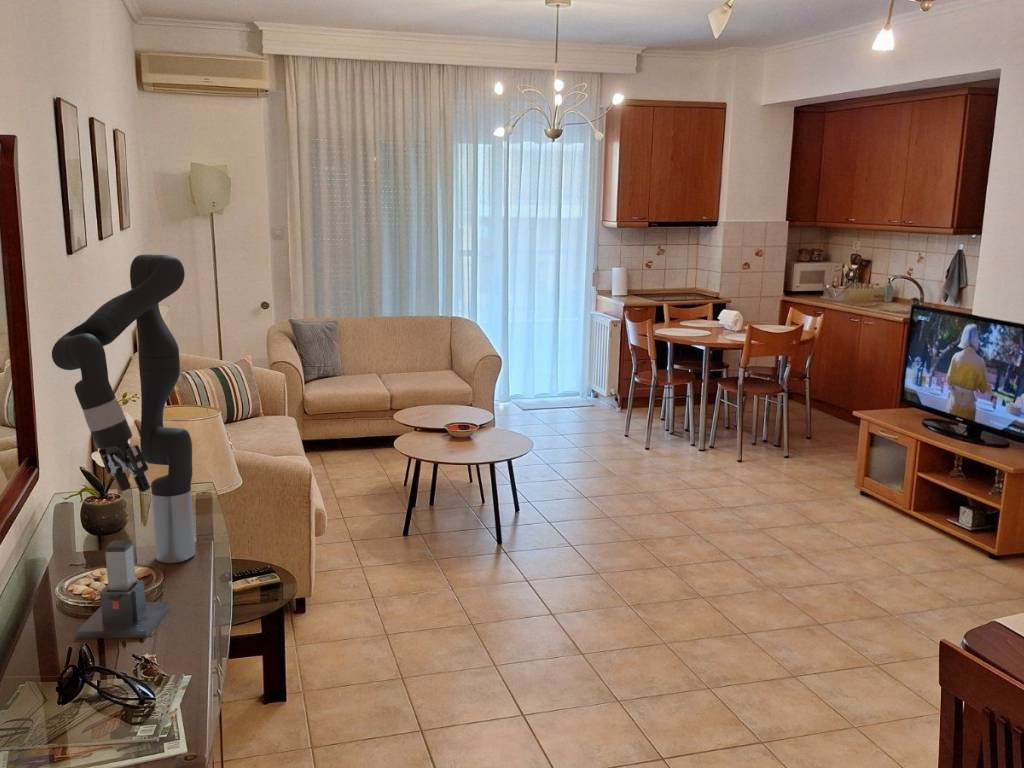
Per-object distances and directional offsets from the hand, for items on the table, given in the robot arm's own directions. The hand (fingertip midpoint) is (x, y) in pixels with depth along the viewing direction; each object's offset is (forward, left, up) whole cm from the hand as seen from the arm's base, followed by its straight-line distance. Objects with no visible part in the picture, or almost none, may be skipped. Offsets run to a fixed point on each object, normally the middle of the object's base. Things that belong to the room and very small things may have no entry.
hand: (135, 489), depth 201 cm
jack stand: (+15, +2, -24) cm, 29 cm away
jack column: (+15, +2, -23) cm, 27 cm away
